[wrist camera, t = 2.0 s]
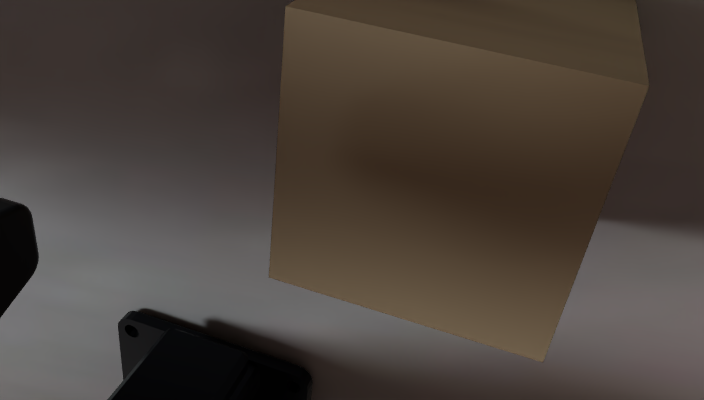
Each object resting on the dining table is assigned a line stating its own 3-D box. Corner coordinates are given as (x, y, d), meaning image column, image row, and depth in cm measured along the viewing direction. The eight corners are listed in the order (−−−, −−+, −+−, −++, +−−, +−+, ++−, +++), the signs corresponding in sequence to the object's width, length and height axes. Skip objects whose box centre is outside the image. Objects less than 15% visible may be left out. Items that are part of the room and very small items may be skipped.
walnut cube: (559, 212, 15) (542, 362, 11) (353, 157, 16) (268, 277, 12) (634, -7, 12) (648, 85, 8) (381, -56, 14) (285, 6, 9)
